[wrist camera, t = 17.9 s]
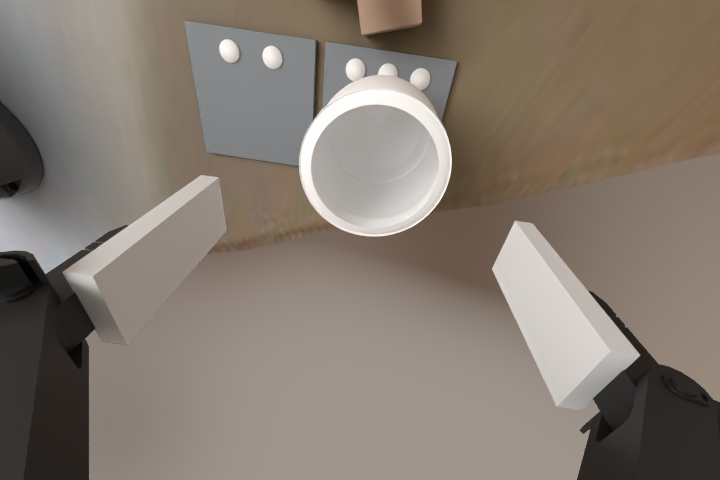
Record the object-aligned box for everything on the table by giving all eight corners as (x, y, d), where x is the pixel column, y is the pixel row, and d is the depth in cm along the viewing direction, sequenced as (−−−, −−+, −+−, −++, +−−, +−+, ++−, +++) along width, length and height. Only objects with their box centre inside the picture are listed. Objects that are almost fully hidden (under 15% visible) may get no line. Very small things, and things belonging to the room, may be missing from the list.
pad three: (320, 167, 37) (319, 169, 36) (326, 41, 29) (325, 41, 29) (424, 182, 36) (424, 185, 36) (456, 61, 29) (457, 61, 29)
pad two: (208, 150, 37) (205, 152, 36) (187, 21, 29) (182, 20, 29) (312, 166, 37) (310, 168, 36) (316, 40, 29) (315, 40, 29)
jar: (387, 183, 36) (384, 259, 24) (315, 132, 34) (272, 187, 21) (450, 109, 31) (488, 158, 19) (372, 40, 28) (356, 44, 16)
